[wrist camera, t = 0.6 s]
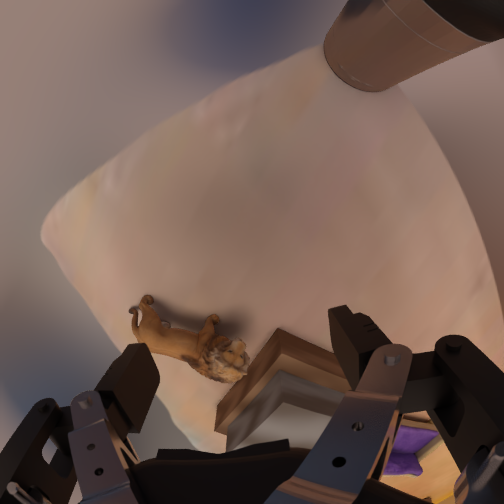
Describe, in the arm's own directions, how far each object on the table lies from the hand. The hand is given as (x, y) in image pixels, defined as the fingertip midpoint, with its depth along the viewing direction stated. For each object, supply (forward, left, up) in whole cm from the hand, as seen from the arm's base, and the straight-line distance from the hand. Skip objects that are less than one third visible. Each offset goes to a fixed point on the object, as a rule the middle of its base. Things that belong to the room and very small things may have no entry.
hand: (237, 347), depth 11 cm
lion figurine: (+11, -1, -19) cm, 22 cm away
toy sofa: (+17, +41, -19) cm, 48 cm away
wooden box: (+15, +18, -19) cm, 30 cm away
